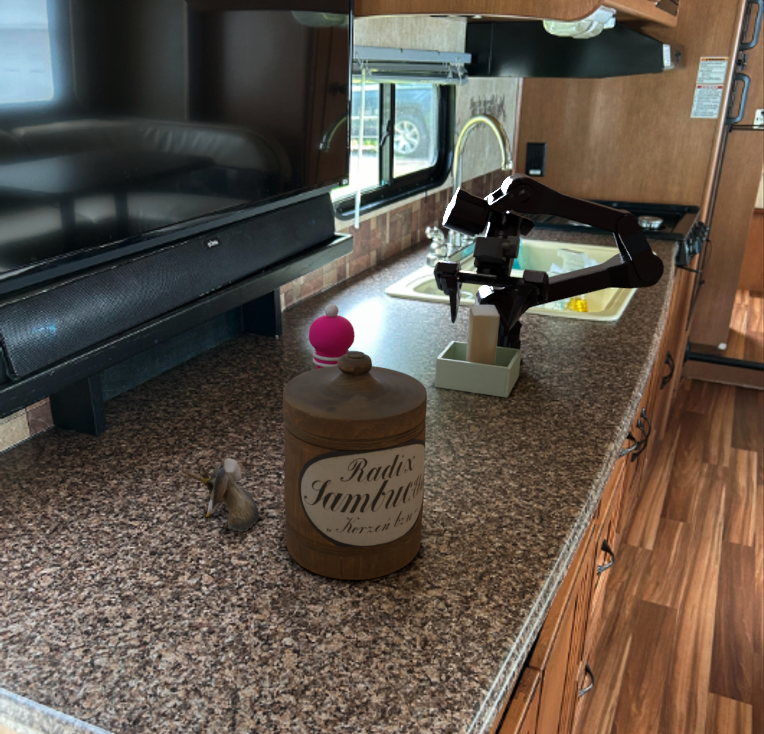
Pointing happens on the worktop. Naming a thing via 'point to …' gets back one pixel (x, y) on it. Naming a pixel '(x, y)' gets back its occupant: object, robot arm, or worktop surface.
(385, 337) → the worktop surface
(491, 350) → the cosmetic box
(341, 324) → the pepper mill
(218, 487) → the eagle figurine
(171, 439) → the worktop surface
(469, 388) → the bin
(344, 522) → the wooden container
